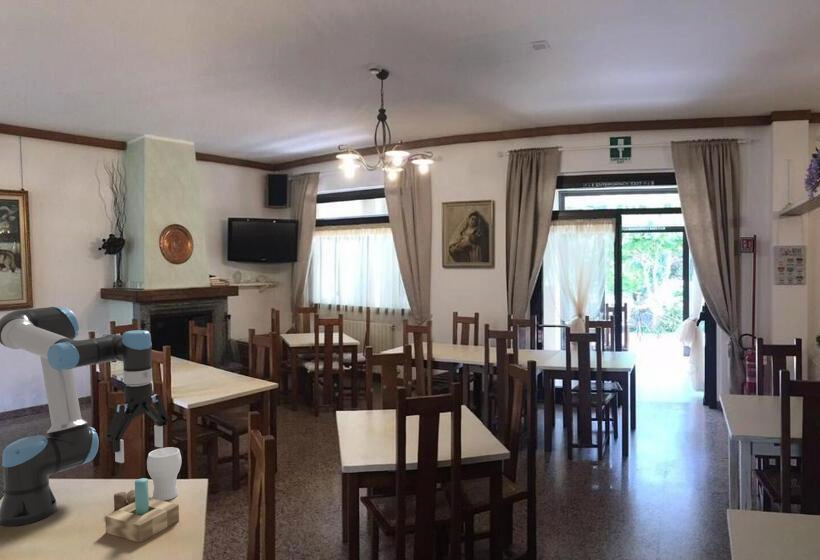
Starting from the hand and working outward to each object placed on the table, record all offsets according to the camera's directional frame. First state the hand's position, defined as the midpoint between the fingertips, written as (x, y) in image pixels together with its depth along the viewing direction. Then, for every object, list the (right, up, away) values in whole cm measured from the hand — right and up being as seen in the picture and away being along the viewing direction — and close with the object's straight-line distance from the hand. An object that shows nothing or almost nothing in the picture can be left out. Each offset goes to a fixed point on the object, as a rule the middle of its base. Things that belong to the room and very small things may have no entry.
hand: (140, 454), depth 166 cm
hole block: (+1, -22, +1) cm, 22 cm away
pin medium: (-7, -20, +12) cm, 24 cm away
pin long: (0, -22, +1) cm, 22 cm away
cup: (-2, -21, +22) cm, 31 cm away
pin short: (-12, -22, +12) cm, 27 cm away
